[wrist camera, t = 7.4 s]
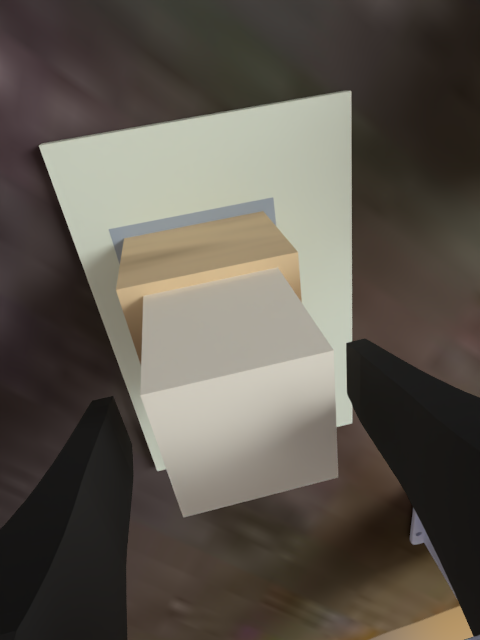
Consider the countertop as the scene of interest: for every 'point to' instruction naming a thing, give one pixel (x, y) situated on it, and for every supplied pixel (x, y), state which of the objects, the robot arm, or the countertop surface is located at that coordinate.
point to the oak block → (200, 260)
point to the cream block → (238, 390)
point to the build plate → (217, 205)
